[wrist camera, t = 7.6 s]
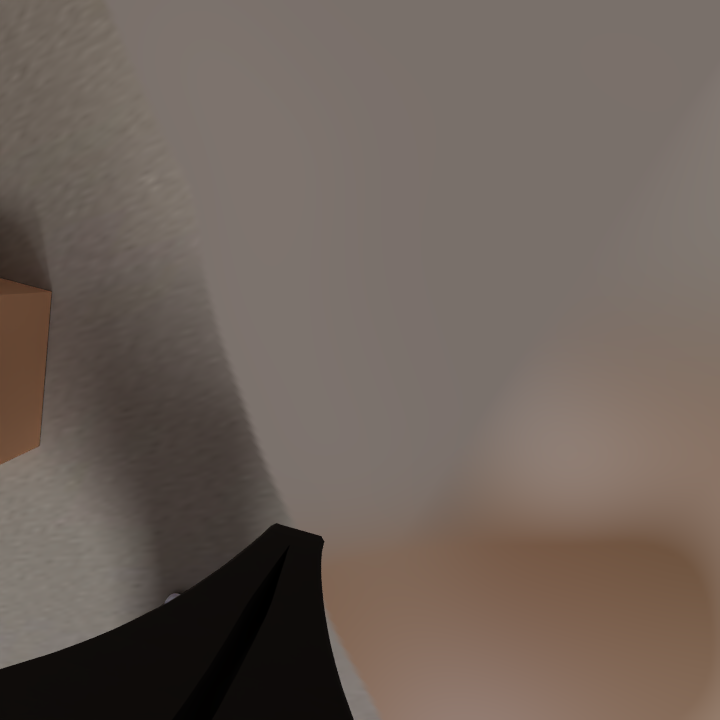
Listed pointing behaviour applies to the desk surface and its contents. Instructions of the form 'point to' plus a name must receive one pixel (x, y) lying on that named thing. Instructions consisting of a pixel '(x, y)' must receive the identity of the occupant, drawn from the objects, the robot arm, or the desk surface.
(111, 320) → the desk surface
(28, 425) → the tan rectangular slab
